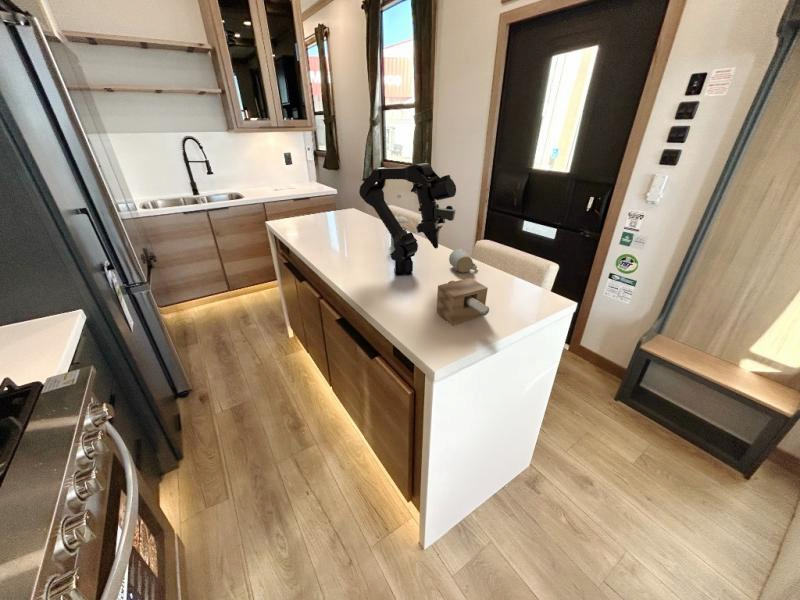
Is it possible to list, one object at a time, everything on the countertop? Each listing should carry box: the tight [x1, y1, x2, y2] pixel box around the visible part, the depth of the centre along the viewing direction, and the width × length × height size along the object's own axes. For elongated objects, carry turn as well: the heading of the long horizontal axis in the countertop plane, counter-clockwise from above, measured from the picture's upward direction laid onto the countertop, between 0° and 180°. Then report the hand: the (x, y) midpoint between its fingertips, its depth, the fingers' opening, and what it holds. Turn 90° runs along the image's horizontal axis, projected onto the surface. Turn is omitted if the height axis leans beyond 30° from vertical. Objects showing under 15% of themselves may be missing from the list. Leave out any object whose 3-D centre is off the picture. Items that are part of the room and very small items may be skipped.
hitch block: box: [435, 277, 489, 326], centre depth 96 cm, size 8×12×10 cm, turn 118°
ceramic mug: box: [448, 248, 478, 274], centre depth 128 cm, size 11×8×8 cm
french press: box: [388, 193, 409, 252], centre depth 148 cm, size 10×12×25 cm
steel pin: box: [447, 280, 490, 317], centre depth 93 cm, size 16×5×5 cm, turn 28°
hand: (436, 248), depth 112 cm, fingers closed
